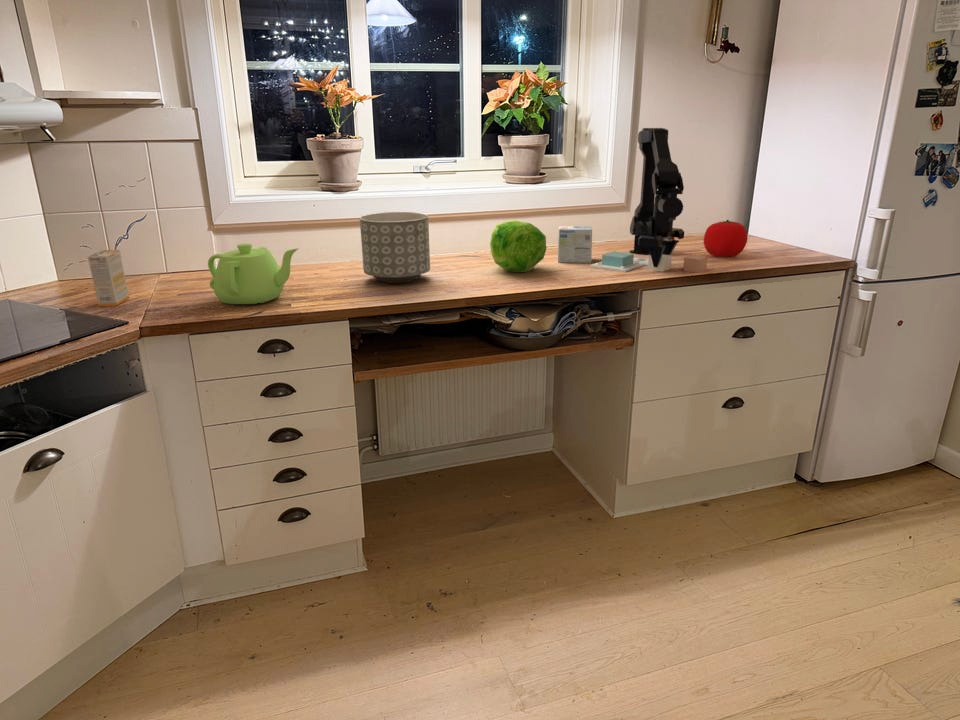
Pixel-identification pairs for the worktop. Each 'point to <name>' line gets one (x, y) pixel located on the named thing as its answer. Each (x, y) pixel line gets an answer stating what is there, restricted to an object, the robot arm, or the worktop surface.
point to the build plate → (623, 269)
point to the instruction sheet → (641, 260)
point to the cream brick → (661, 263)
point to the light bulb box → (574, 244)
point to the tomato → (725, 239)
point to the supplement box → (108, 277)
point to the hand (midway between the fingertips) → (659, 265)
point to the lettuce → (517, 246)
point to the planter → (395, 245)
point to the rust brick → (695, 263)
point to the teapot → (248, 275)
